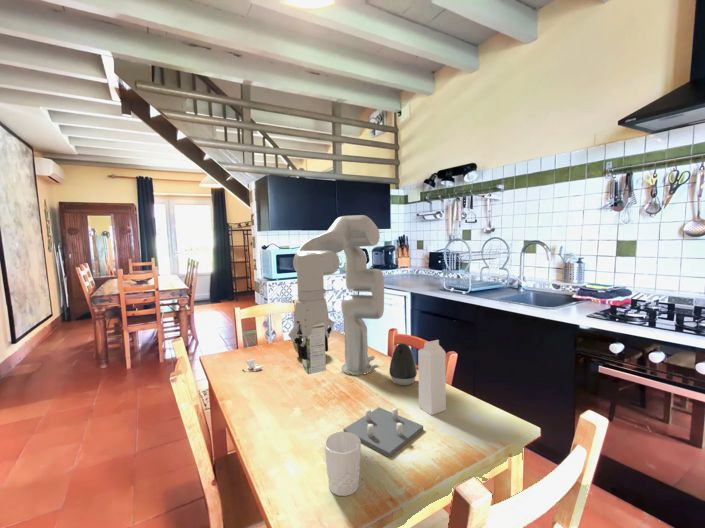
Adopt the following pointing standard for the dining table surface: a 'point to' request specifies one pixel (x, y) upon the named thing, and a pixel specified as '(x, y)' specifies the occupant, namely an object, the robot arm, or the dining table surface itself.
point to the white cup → (343, 462)
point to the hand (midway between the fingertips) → (313, 353)
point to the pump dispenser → (403, 365)
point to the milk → (432, 378)
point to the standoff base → (384, 430)
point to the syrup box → (315, 350)
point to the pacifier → (253, 364)
